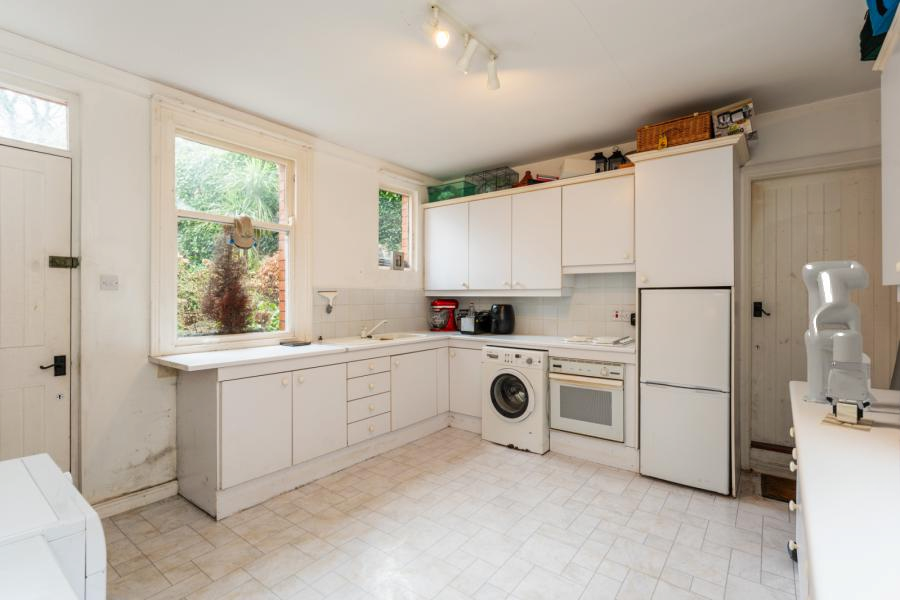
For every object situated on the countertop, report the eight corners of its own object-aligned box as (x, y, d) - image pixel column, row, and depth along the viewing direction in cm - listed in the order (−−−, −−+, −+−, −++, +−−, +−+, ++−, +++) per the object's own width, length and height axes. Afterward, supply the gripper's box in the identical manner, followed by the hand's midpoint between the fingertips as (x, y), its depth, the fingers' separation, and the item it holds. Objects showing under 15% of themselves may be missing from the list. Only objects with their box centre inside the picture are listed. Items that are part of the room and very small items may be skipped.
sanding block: (839, 416, 152) (839, 400, 152) (858, 419, 148) (858, 402, 148) (836, 420, 147) (836, 403, 147) (856, 423, 143) (856, 406, 143)
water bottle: (876, 414, 159) (875, 348, 159) (857, 414, 160) (857, 348, 159) (858, 409, 166) (858, 346, 166) (841, 409, 166) (841, 346, 166)
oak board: (829, 414, 159) (829, 411, 159) (874, 421, 150) (874, 418, 150) (820, 426, 145) (820, 423, 145) (869, 434, 136) (869, 431, 136)
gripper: (814, 364, 151) (814, 415, 151) (881, 370, 138) (881, 425, 139) (817, 362, 156) (817, 411, 156) (882, 368, 143) (883, 421, 144)
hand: (847, 417), depth 147 cm, fingers closed on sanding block, 5 cm apart
